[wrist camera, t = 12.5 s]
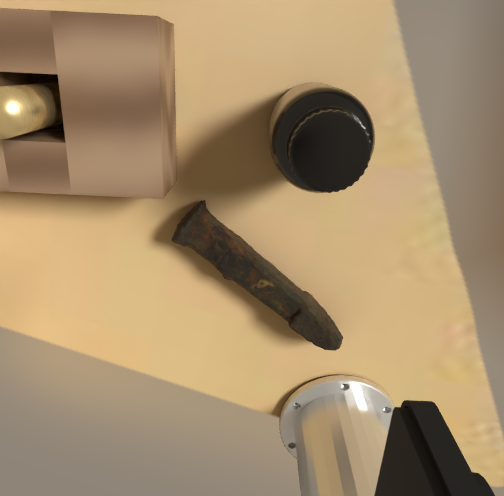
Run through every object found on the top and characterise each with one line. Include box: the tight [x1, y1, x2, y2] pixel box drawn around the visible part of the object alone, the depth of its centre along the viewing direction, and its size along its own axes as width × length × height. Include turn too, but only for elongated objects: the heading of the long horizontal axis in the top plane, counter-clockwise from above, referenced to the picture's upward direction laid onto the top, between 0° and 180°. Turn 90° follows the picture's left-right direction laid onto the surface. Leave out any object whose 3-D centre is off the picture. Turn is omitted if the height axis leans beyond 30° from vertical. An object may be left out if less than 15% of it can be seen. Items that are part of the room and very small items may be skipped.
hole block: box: [0, 8, 177, 199], centre depth 33 cm, size 12×18×6 cm, turn 87°
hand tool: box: [172, 200, 343, 350], centre depth 40 cm, size 19×4×5 cm, turn 47°
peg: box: [0, 82, 63, 139], centre depth 31 cm, size 3×3×10 cm
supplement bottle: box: [269, 83, 375, 193], centre depth 31 cm, size 7×7×12 cm
